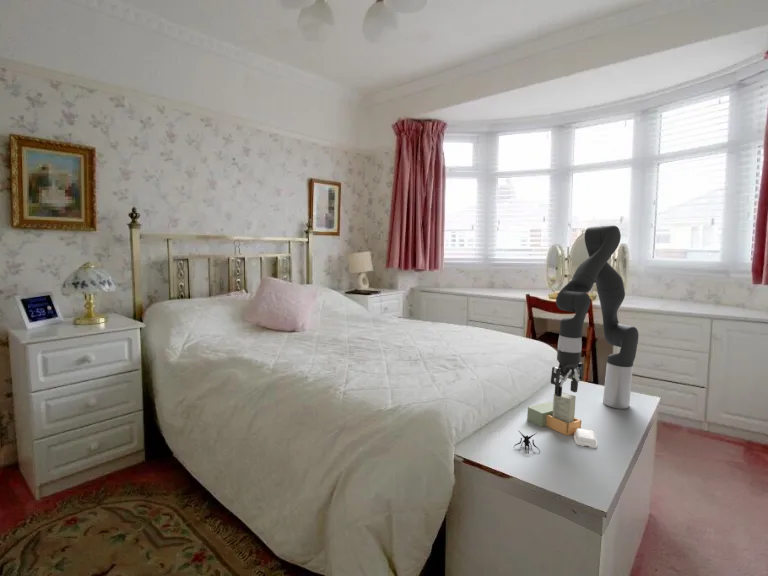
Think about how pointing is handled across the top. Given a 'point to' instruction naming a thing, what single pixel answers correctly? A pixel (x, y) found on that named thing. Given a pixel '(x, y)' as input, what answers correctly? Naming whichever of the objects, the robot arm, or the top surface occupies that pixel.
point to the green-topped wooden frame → (551, 419)
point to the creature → (527, 442)
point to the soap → (585, 438)
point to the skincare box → (564, 407)
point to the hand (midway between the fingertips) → (565, 393)
